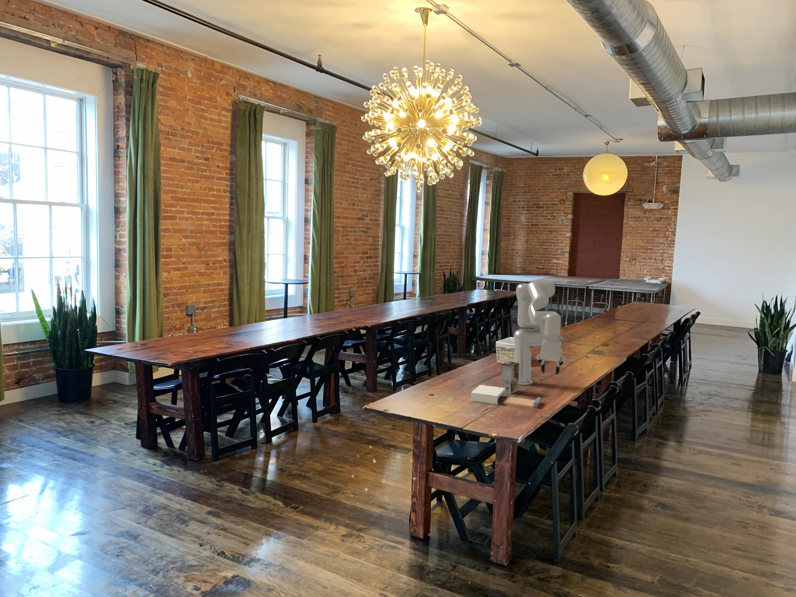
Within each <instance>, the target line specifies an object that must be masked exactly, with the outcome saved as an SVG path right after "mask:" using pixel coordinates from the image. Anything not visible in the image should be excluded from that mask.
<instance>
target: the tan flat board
mask: <svg viewBox="0 0 796 597" xmlns="http://www.w3.org/2000/svg"><path fill="white" fill-rule="evenodd" d="M541 400H542V398H541V397H539V396H538V397H536V399H529V398H521V397H512V396H507V398H506V399H505V400H504V401H503V402H502V403H503V405H509V406H517V407H523V408H524V407H525V408H531V409H537V408H538V407H539V405H540V404H541V402H542V401H541Z"/></svg>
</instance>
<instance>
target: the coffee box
mask: <svg viewBox="0 0 796 597" xmlns="http://www.w3.org/2000/svg"><path fill="white" fill-rule="evenodd" d="M500 378H501V382H500V387H501V388H505V394H509V395H512V394H513V393H514V394H515V393H517V392H519V363H516V362H512V361H509V362H506V363H501V377H500Z"/></svg>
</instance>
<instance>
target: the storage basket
mask: <svg viewBox="0 0 796 597" xmlns="http://www.w3.org/2000/svg"><path fill="white" fill-rule="evenodd" d="M527 347H528V349H529V350H530V347H531V346H527ZM495 350H496V362H497V363H498V364H503V363H506V362H509V361H512V362H515V342H514V336H513V337H512V336H511V337H506V338H504V339H500V340H497V341H496V342H495Z"/></svg>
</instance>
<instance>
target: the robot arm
mask: <svg viewBox="0 0 796 597" xmlns="http://www.w3.org/2000/svg"><path fill="white" fill-rule="evenodd" d="M555 292H556V286H555V285H554V283H553V281H549V280H534V281H533V280H532V281H531V282H527V283H519V284H517V285H516V289H515V295H516V299H517V304H518V305H517V306H518V307H517V325H518V327H519V328H522V329H517V330H515V331H514V333H513V337H514V342H515V362H516V363H519V384H518V386H519V385H520V386H527V385H528V386H529V385H532V384H533V383H534V382H533V380H532V379H531V374H532V373H531V369H532V353H531V349H530V348H529V349H528V347H527V346H530V347H537V346H538V347H540V352H539V353H538V354H537V355H536V356H535V359H536V360H537V362H538V363H539V364H540V365H541V368H540V371H541V373H542V374H544V373H545V372H546V364H545V362H546V361H548V362H549V361H550V362H555V363H556V367H555V375H558V374H559V373H560V367H561V366H563V364H564V363H566V362H567V358H566V356H564V355H563V346H562V341H561V340H564V337H563V336H561V323H562V322H561V321H562V320H561V318H562V317H561V315H560V313H559V314H558V312H556V311H550V310H549V311H546V310H545V311H543V310H540V309H544V308H545V307H546V306H547V305H548V304H549V302H550V299H549V298H552V297H554V295H555ZM523 328H525V329H523ZM526 328H528V329H526ZM529 328H535V329H529Z"/></svg>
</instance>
